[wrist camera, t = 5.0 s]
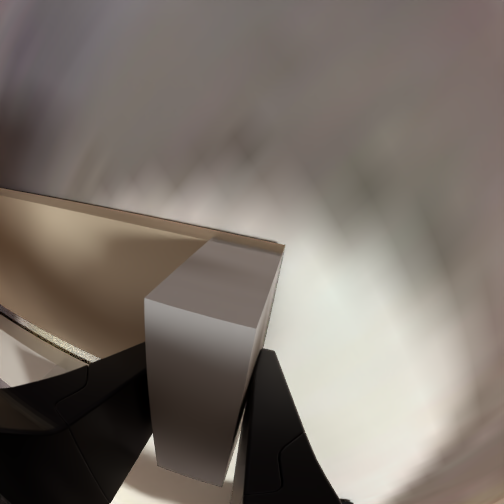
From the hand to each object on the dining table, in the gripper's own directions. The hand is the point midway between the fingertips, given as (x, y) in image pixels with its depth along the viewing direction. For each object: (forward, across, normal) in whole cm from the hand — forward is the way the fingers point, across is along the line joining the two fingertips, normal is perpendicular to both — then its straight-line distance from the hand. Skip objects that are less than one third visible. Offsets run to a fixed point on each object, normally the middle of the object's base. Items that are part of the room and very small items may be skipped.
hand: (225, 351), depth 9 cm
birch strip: (+2, +11, 0) cm, 11 cm away
